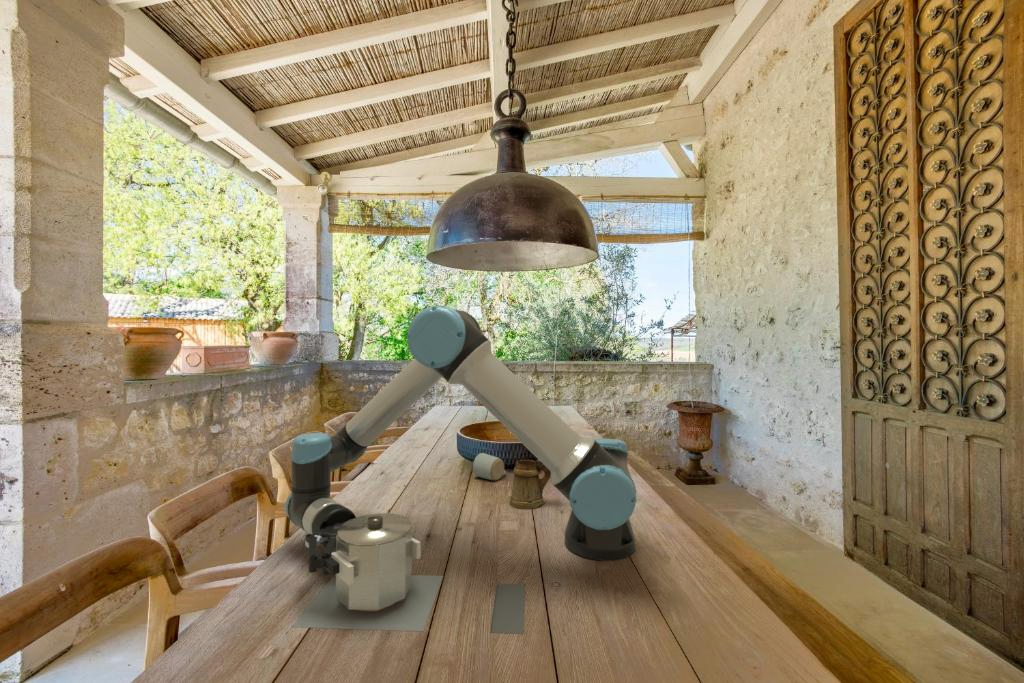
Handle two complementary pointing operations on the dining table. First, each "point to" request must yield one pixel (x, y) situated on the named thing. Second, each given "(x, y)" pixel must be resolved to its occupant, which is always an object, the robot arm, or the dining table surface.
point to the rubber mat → (508, 609)
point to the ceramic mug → (488, 467)
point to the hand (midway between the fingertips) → (387, 562)
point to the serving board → (393, 618)
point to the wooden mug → (528, 484)
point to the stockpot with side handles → (375, 560)
